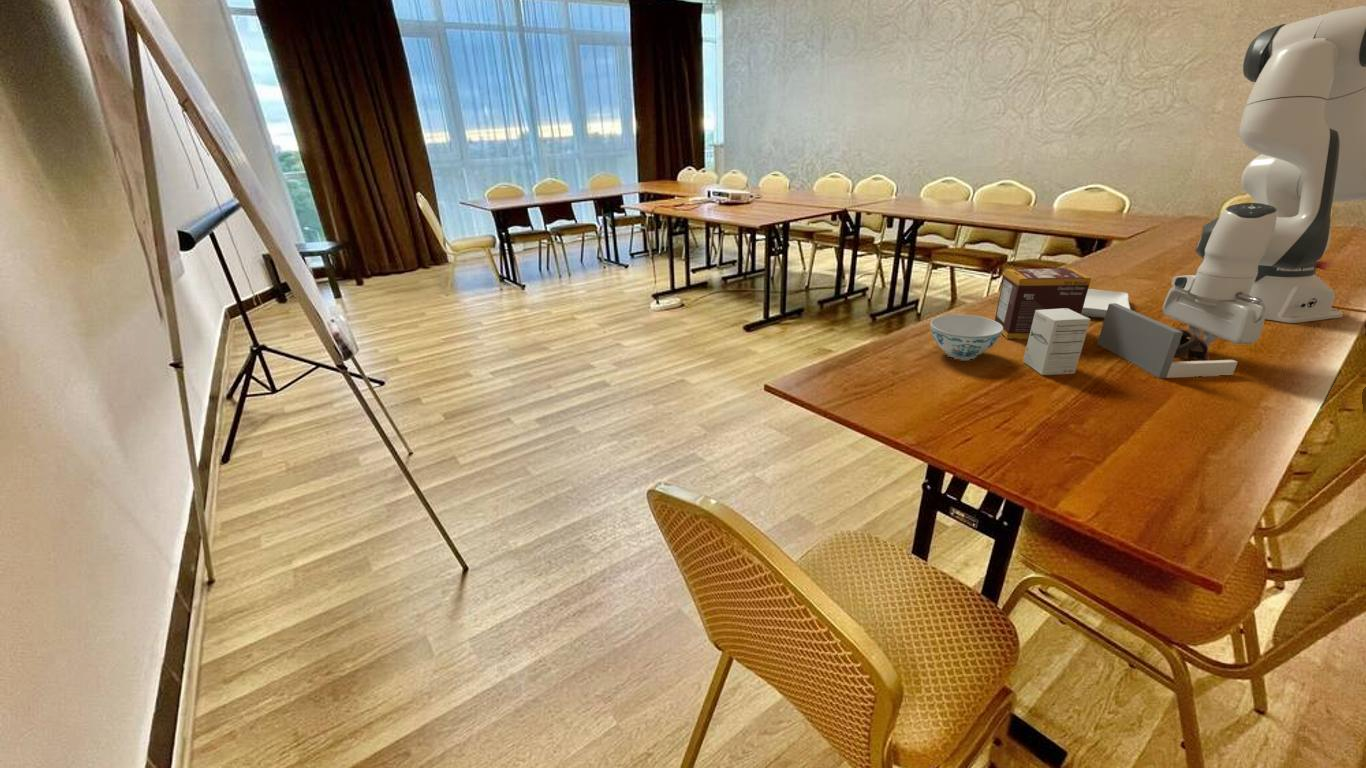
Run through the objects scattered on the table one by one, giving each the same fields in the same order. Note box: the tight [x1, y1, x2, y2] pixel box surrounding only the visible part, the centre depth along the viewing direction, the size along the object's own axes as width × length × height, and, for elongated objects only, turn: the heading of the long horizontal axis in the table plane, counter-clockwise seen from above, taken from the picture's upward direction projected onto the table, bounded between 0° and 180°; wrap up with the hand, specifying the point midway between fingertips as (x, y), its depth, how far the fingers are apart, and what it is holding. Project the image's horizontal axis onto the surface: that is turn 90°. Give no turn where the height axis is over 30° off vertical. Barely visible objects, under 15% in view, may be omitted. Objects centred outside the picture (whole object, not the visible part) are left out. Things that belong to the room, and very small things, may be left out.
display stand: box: [1096, 303, 1238, 379], centre depth 113 cm, size 14×19×10 cm
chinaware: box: [930, 314, 1003, 361], centre depth 122 cm, size 15×15×8 cm
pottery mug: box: [1173, 327, 1209, 361], centre depth 113 cm, size 12×10×8 cm
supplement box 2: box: [1022, 308, 1092, 376], centre depth 112 cm, size 7×7×13 cm
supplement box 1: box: [994, 267, 1092, 340], centre depth 130 cm, size 10×15×16 cm
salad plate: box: [1081, 288, 1132, 319], centre depth 147 cm, size 21×21×3 cm
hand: (1197, 348), depth 114 cm, fingers closed
